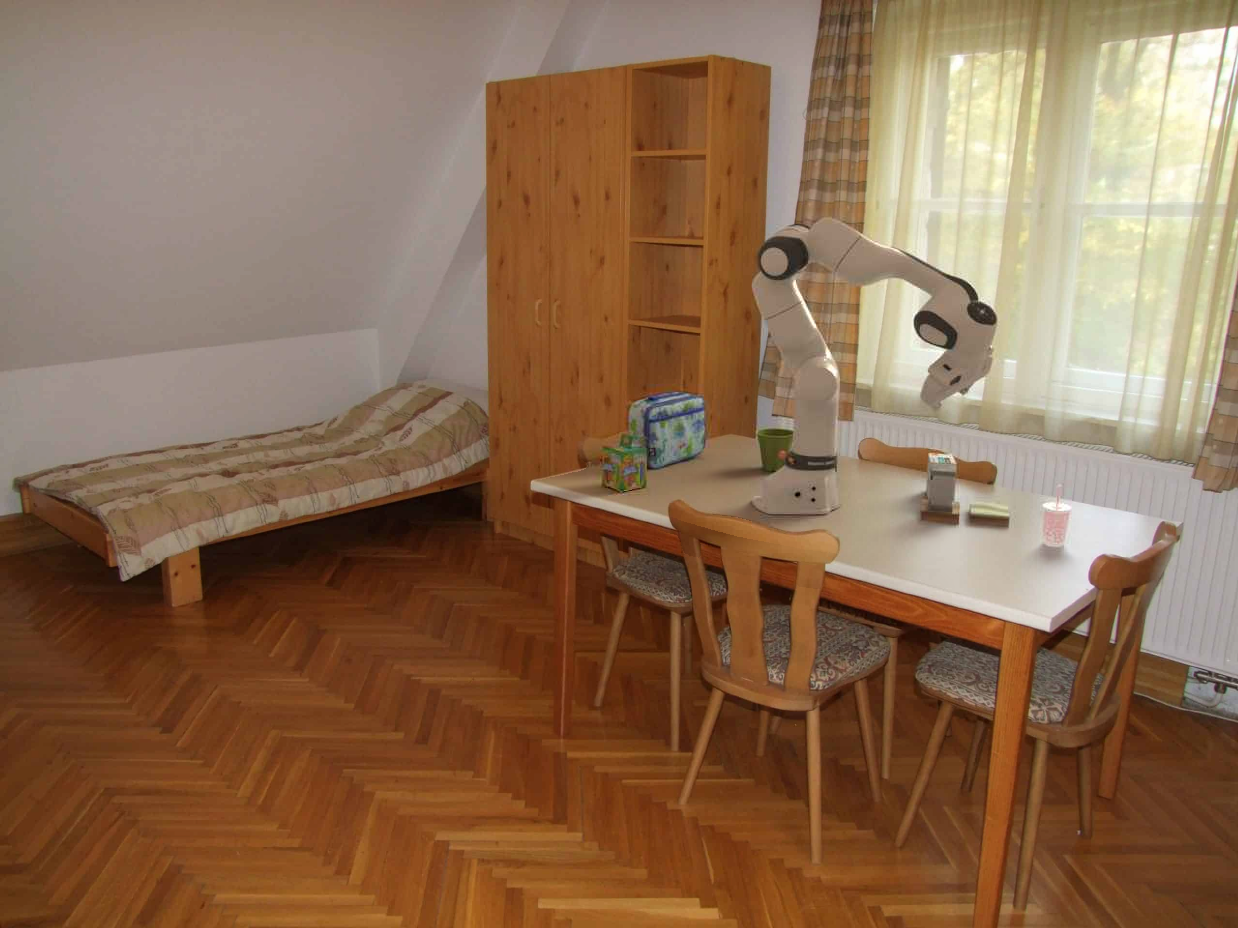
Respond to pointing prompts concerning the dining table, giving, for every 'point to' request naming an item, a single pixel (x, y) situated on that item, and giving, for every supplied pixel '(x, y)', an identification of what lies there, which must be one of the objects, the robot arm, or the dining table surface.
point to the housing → (942, 487)
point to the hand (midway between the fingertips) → (949, 400)
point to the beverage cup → (1055, 522)
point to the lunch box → (669, 427)
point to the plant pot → (774, 446)
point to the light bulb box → (931, 459)
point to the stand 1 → (940, 514)
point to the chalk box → (624, 465)
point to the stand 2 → (989, 513)
